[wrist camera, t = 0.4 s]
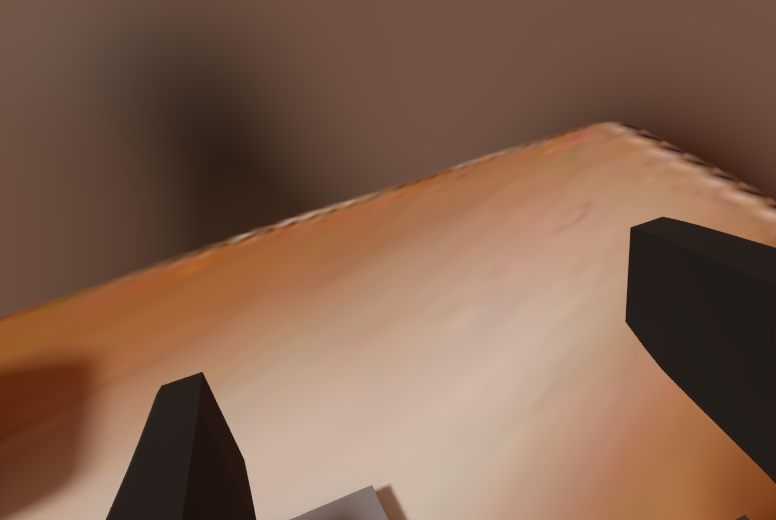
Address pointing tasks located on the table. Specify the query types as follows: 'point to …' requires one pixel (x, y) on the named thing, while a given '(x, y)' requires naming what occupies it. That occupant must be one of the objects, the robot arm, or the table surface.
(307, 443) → the table surface
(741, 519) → the glasses
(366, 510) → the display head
